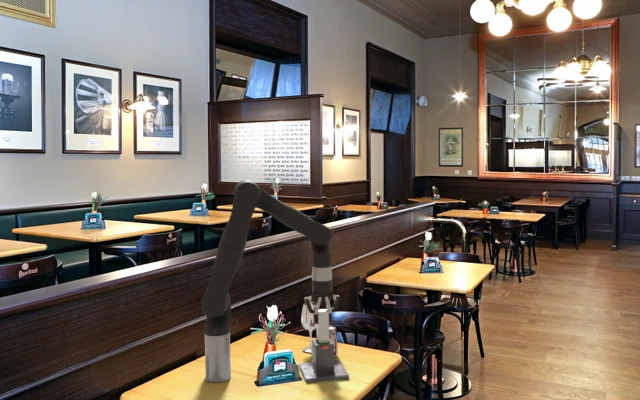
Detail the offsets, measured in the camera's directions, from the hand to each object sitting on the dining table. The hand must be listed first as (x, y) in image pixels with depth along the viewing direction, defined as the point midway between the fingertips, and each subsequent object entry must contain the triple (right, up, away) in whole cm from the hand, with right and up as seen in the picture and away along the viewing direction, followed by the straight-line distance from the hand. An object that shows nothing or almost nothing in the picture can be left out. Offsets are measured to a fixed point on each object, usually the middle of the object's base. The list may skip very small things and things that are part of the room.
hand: (322, 322), depth 215 cm
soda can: (+3, -18, +19) cm, 27 cm away
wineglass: (-5, -18, +27) cm, 32 cm away
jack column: (0, -11, +1) cm, 11 cm away
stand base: (0, -19, +1) cm, 19 cm away
